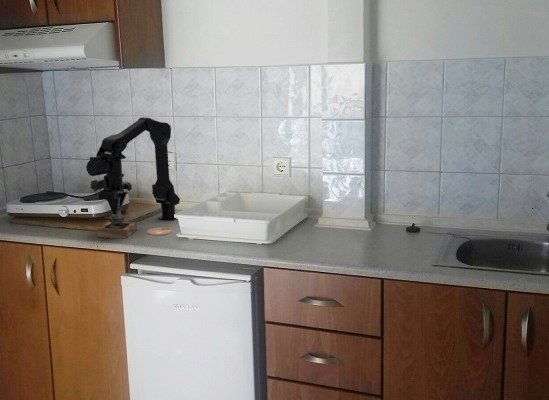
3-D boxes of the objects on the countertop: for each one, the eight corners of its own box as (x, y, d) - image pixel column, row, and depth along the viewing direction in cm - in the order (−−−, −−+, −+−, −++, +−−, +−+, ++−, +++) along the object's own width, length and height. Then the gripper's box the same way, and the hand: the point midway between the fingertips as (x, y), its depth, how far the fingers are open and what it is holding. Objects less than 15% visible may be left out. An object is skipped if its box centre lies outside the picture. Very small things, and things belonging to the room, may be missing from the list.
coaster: (152, 228, 238) (151, 227, 238) (174, 229, 237) (174, 227, 237) (144, 234, 230) (144, 233, 230) (167, 235, 229) (167, 234, 228)
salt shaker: (123, 228, 228) (121, 196, 225) (107, 228, 228) (105, 196, 225) (127, 224, 234) (125, 193, 231) (111, 224, 234) (109, 193, 231)
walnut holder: (109, 229, 238) (109, 221, 237) (136, 230, 236) (136, 222, 236) (97, 237, 227) (97, 229, 226) (126, 238, 226) (126, 230, 225)
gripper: (103, 167, 236) (105, 206, 240) (82, 176, 218) (85, 218, 222) (131, 167, 235) (133, 207, 238) (112, 177, 217) (114, 219, 220)
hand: (116, 213), depth 230 cm, fingers closed on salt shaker, 3 cm apart
